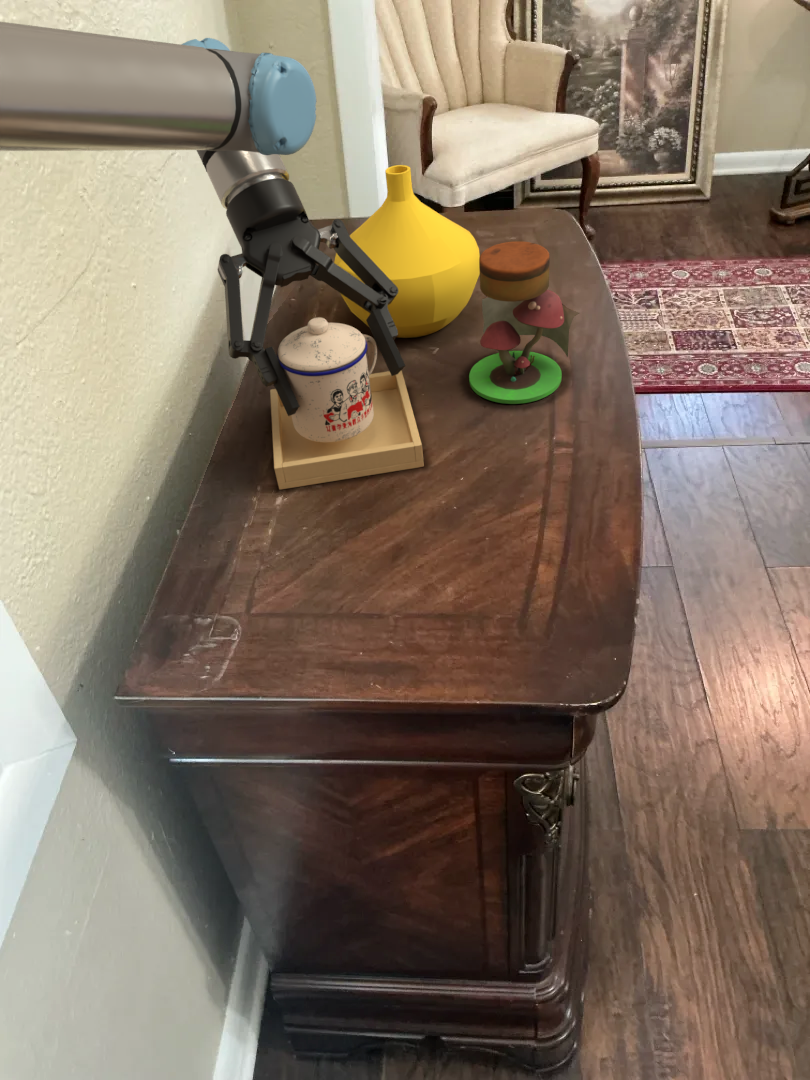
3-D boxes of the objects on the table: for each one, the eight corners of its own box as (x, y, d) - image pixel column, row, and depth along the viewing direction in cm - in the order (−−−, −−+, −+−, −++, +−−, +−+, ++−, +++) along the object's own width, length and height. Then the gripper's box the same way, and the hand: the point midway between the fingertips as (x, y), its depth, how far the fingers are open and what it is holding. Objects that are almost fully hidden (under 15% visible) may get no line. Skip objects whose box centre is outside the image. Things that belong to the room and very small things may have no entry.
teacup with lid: (336, 456, 87) (318, 354, 79) (274, 427, 92) (251, 329, 84) (410, 399, 94) (401, 300, 86) (349, 376, 98) (334, 280, 90)
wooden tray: (279, 490, 89) (274, 468, 87) (274, 410, 100) (270, 389, 98) (424, 466, 89) (421, 444, 87) (403, 389, 101) (401, 369, 99)
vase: (328, 355, 108) (302, 203, 95) (357, 287, 121) (338, 145, 108) (474, 356, 105) (468, 198, 92) (488, 286, 118) (484, 139, 105)
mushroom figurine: (565, 412, 94) (570, 284, 84) (454, 402, 98) (446, 277, 88) (582, 356, 102) (589, 233, 92) (479, 348, 106) (474, 229, 96)
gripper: (352, 184, 95) (434, 364, 95) (146, 246, 88) (235, 441, 88) (369, 146, 88) (458, 340, 88) (146, 209, 81) (244, 422, 81)
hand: (347, 390), depth 88 cm, fingers closed on teacup with lid, 11 cm apart
